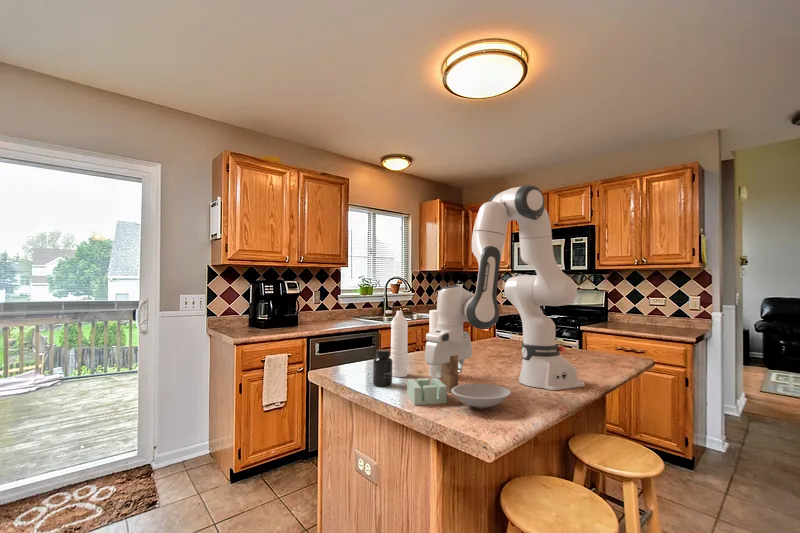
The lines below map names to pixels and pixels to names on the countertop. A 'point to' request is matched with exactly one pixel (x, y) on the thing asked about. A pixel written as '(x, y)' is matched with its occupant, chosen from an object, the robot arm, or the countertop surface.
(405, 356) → the water bottle
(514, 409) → the countertop surface
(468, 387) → the dish
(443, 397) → the socket
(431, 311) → the cylindrical container
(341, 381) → the countertop surface
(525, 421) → the countertop surface
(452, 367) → the peg
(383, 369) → the supplement bottle
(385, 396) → the countertop surface
